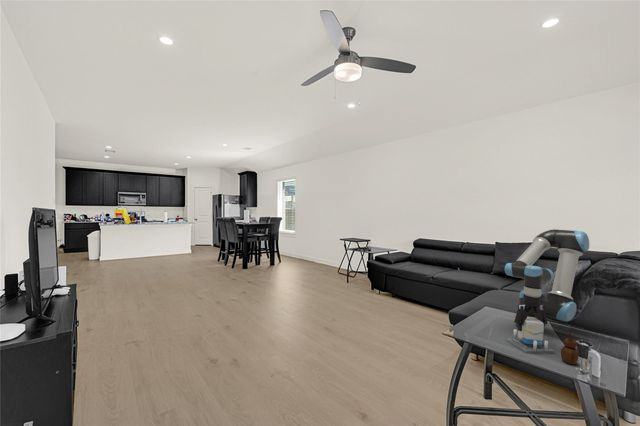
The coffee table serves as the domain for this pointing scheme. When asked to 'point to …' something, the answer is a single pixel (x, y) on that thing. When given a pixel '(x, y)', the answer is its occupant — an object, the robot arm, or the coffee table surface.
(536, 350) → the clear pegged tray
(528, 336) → the ink box
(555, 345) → the coffee table surface
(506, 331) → the coffee table surface
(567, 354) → the wooden figurine
